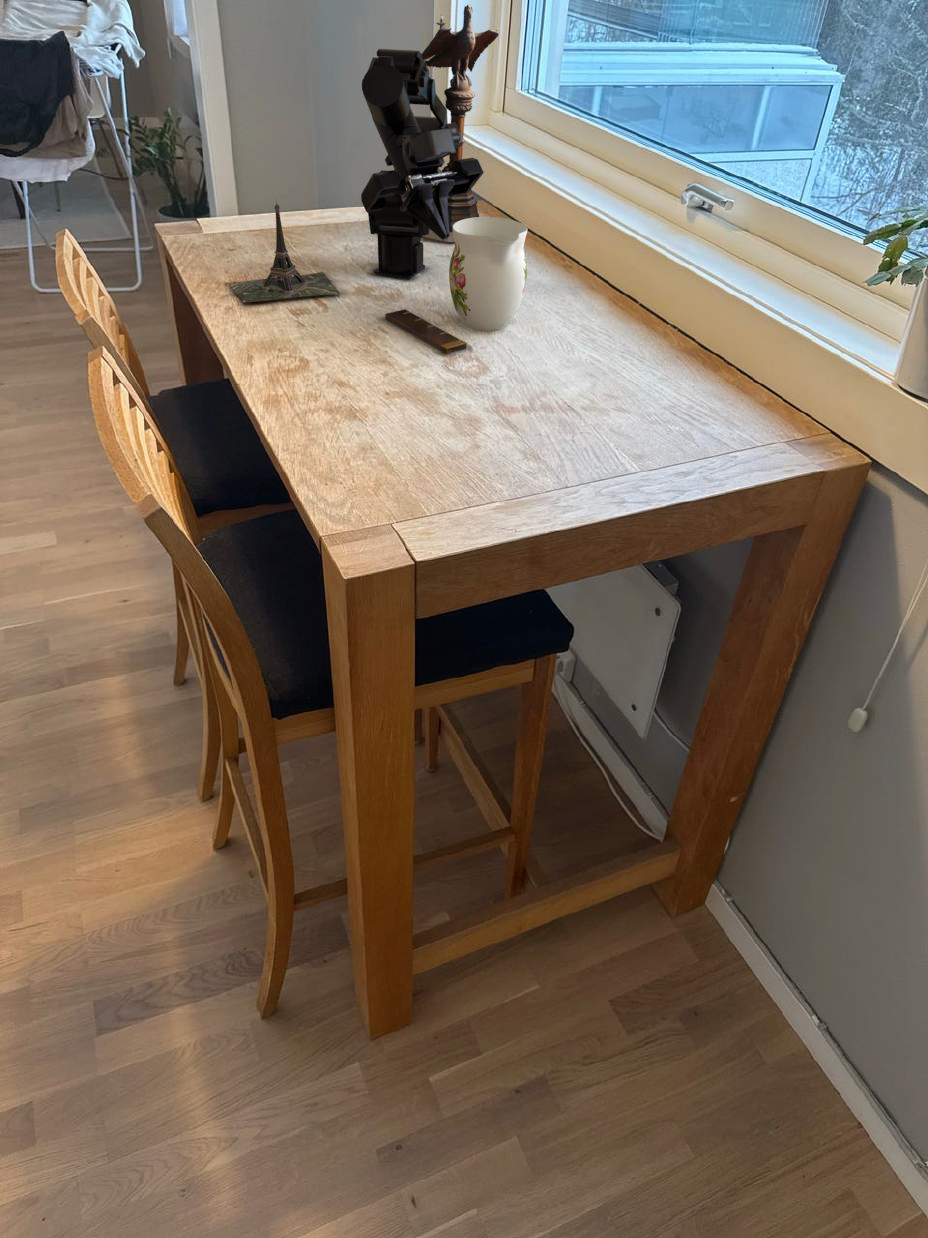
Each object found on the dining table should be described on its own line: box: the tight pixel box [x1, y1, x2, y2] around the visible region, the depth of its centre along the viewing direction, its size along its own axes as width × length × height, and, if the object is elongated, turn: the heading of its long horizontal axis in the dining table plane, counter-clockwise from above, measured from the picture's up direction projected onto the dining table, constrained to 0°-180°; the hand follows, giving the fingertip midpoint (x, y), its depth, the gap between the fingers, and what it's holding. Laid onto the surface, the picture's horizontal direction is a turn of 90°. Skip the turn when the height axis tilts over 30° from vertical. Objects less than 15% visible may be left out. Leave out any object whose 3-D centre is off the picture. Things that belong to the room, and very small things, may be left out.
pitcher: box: [448, 216, 529, 332], centre depth 127 cm, size 11×18×14 cm, turn 19°
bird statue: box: [421, 4, 500, 243], centre depth 153 cm, size 17×13×35 cm
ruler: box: [384, 308, 467, 355], centre depth 127 cm, size 15×4×1 cm, turn 37°
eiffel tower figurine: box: [229, 199, 341, 304], centre depth 134 cm, size 15×10×13 cm
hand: (446, 237), depth 131 cm, fingers closed
